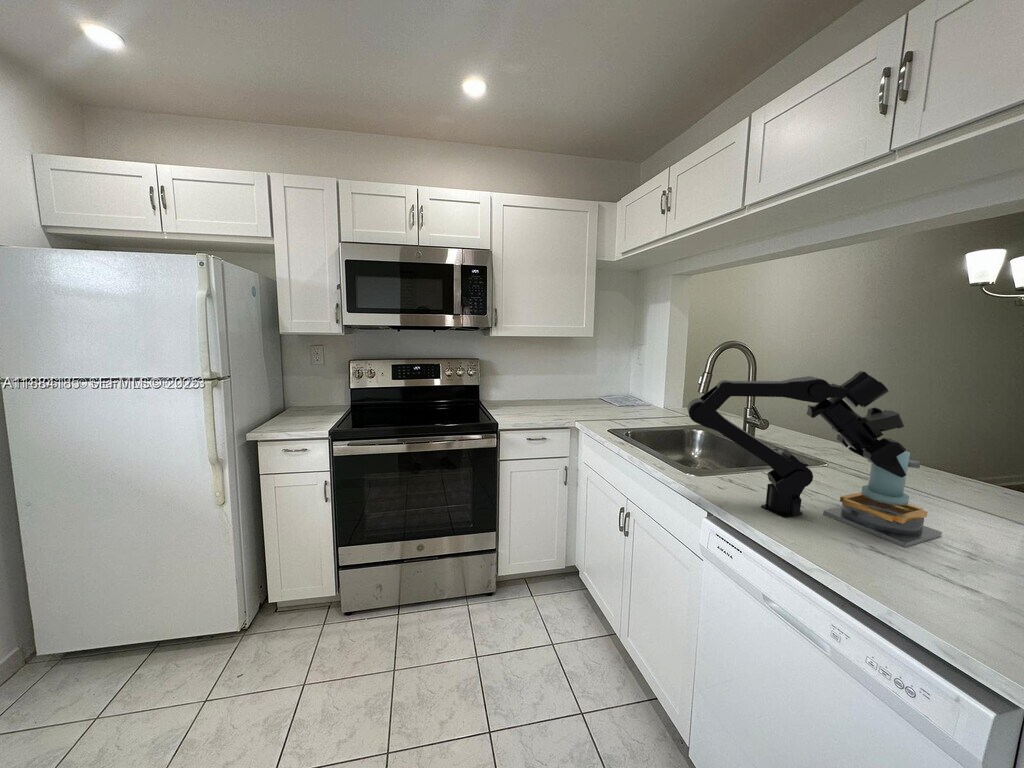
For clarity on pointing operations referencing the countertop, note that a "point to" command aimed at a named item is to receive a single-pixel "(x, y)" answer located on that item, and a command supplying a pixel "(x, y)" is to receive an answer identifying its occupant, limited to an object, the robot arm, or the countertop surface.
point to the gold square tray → (884, 519)
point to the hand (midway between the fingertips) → (895, 471)
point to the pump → (889, 483)
